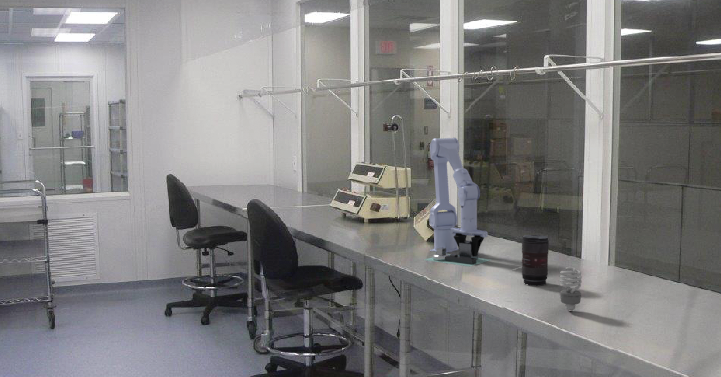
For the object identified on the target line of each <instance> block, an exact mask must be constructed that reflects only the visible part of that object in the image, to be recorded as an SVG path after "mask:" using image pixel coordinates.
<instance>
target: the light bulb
mask: <svg viewBox="0 0 721 377" xmlns="http://www.w3.org/2000/svg"><path fill="white" fill-rule="evenodd" d="M559 273H560V274H561V275H559V278H560V279H559V282H560V284H559V285H560V286H561V287H564V288H566V289H562V290H560V292H559V293H560V294H559V296H560V302H561V304H563V305H565V309H566V310H567V311H569V310H572V311H574V310H575V309H576V305H578V304H580V303H581V298H582V293H581V291H579V289H580V288H581V286H582V284H581V283H582V282H583V281H582V279H583V278H582V277H583V276H582V271H581V270H580V269H577V268H575V267H574V266H566V267H565V270H561V271H560V272H559ZM571 287H573V288H571Z"/></svg>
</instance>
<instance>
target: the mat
mask: <svg viewBox="0 0 721 377" xmlns="http://www.w3.org/2000/svg"><path fill="white" fill-rule="evenodd" d="M447 254H448V255H451V254H452V253H451V254H450V253H447ZM457 255H458V256H459V254H457ZM423 261H427V262H434V263H435V262H436V263H443V264H447V265H448V264H449V265H456V266H463V267H468V268H469V267H473V266H476V265H479V264H484V263H486V262H490V261H491V259H489V258H480V257H478V259H476V264H472V265H471V264H464V263H457V262H449V261H435V260H433V256H432V257H429V258H425V259H423Z"/></svg>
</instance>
